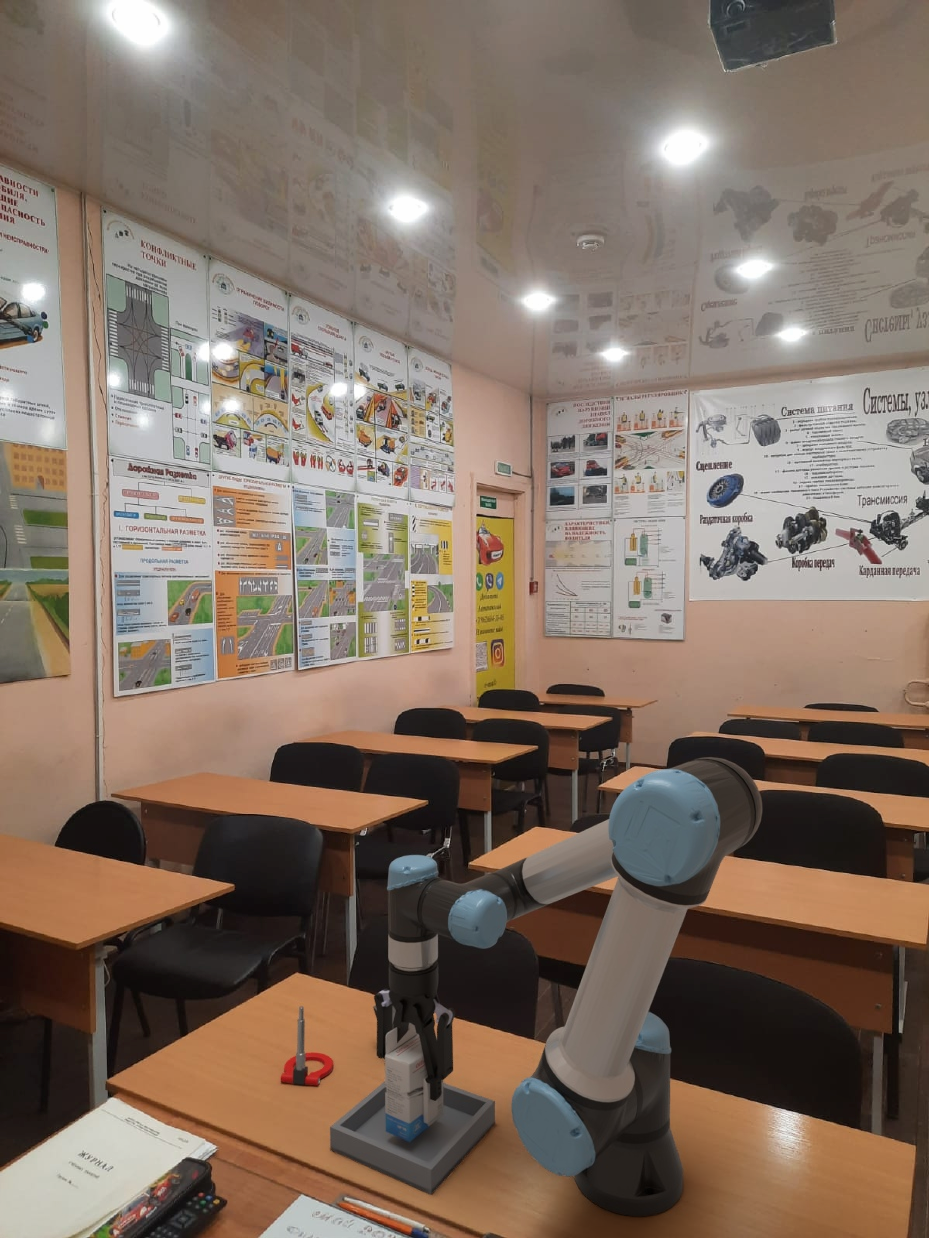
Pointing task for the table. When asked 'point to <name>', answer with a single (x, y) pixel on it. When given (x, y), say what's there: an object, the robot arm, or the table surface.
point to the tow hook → (301, 1071)
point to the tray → (429, 1151)
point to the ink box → (406, 1086)
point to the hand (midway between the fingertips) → (414, 1111)
